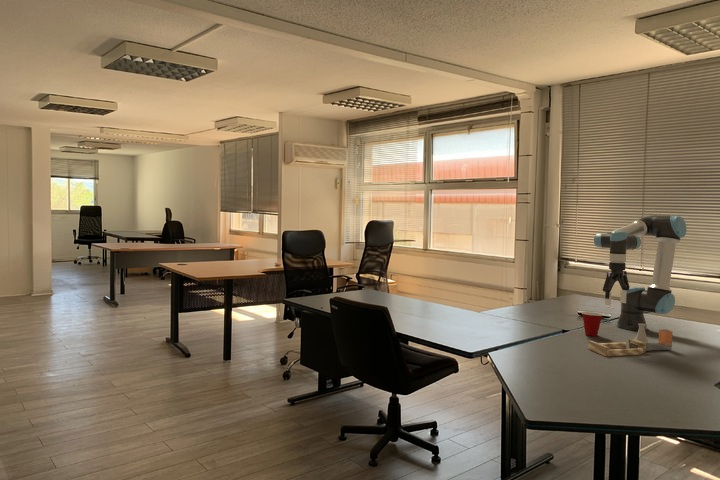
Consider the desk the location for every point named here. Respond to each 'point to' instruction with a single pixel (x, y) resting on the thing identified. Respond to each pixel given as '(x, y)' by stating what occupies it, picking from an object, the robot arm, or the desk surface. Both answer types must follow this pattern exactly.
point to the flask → (641, 334)
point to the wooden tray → (617, 348)
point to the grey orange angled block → (659, 342)
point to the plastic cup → (591, 323)
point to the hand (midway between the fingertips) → (615, 304)
